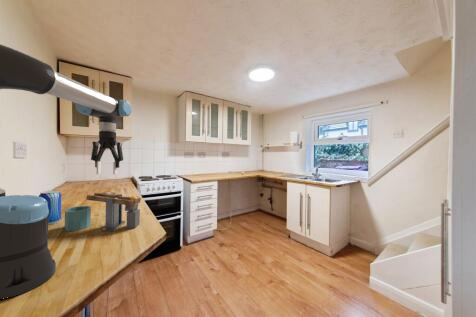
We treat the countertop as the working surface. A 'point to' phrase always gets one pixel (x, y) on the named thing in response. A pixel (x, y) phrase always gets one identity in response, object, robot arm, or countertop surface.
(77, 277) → the countertop surface
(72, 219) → the teal beaker
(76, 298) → the countertop surface
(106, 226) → the stand
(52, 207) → the beer can
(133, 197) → the ball
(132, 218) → the block
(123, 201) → the lever
